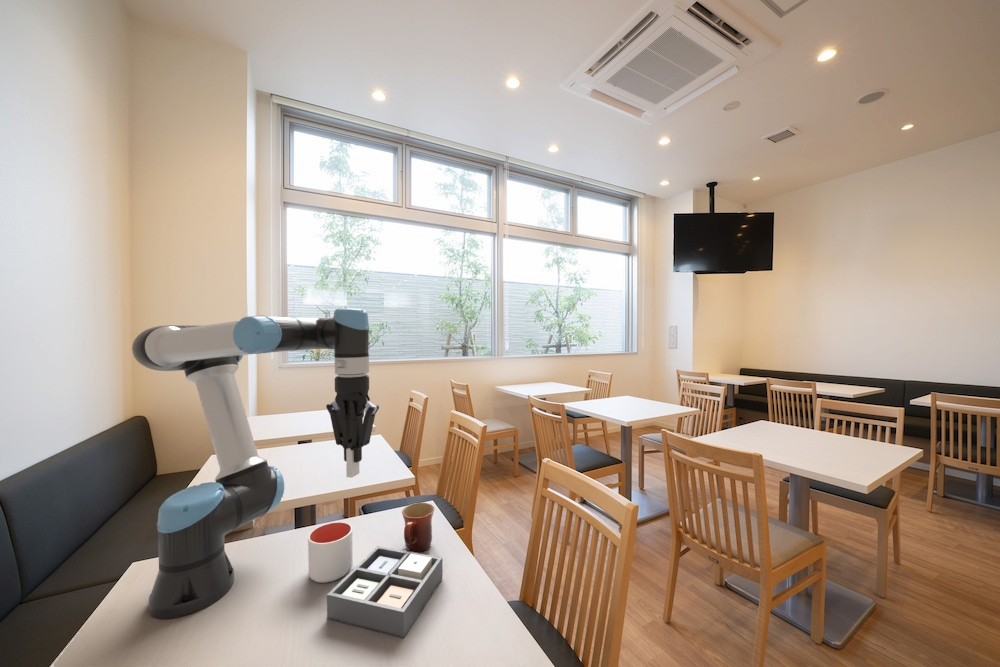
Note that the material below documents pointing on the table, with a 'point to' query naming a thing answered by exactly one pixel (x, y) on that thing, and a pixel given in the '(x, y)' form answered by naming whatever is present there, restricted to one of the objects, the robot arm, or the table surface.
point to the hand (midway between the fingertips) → (353, 475)
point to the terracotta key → (396, 596)
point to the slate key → (383, 564)
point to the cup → (330, 552)
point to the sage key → (361, 589)
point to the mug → (418, 526)
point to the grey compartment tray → (375, 613)
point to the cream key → (415, 567)
